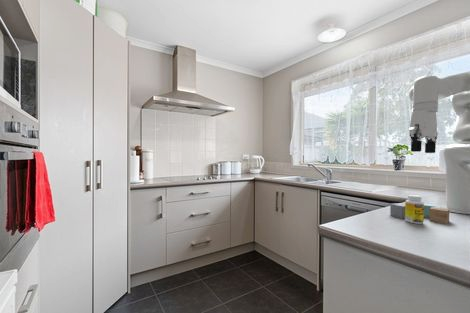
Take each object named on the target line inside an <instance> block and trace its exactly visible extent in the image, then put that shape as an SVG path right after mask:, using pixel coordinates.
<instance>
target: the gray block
mask: <svg viewBox="0 0 470 313" xmlns="http://www.w3.org/2000/svg"><path fill="white" fill-rule="evenodd" d="M389 207H390V209H389V210H390V214H389V215H390V216H392V215H393V217H395V216H396V217H395V218H399V219H405V203H401V202H399V203H397V202H395V203H390V206H389Z"/></svg>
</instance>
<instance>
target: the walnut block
mask: <svg viewBox="0 0 470 313" xmlns="http://www.w3.org/2000/svg"><path fill="white" fill-rule="evenodd" d="M429 221H430V222H433V223H440V224H444V225H448V224H449V222H450V211H449V209H445V208H441V207H439V206H436V207H431V208H430V218H429Z"/></svg>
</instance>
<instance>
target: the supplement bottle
mask: <svg viewBox="0 0 470 313" xmlns="http://www.w3.org/2000/svg"><path fill="white" fill-rule="evenodd" d="M424 203H425V202H424V201H422V196H421V195H417V194H408V196H407V199H405V203H404V204H405V218H404V220H405V221H406V222H407V223H410V224H417V225H421V224H424V218H425V217H424Z"/></svg>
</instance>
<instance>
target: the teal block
mask: <svg viewBox="0 0 470 313" xmlns="http://www.w3.org/2000/svg"><path fill="white" fill-rule="evenodd" d="M431 207H437V206H436V205H435V204H433V203H425V202H424V218H426V219H427V218H428V219H430V208H431Z"/></svg>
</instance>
